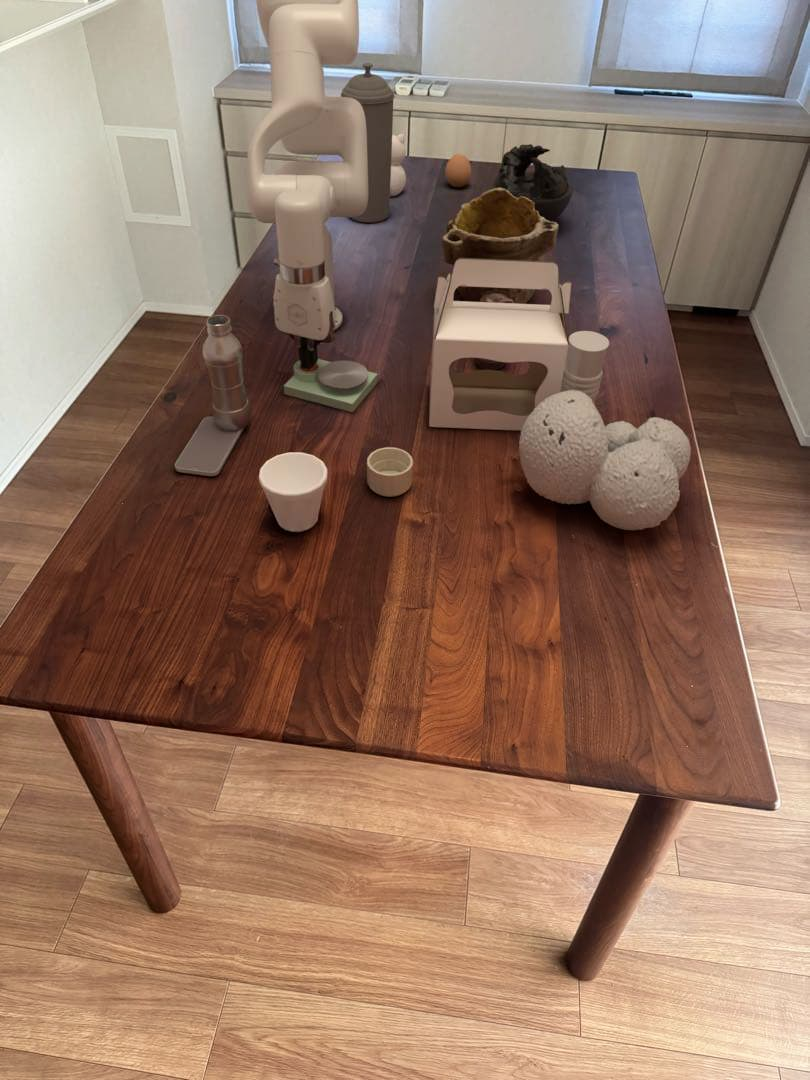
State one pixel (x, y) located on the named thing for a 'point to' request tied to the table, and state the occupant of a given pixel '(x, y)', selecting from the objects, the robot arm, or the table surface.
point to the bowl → (389, 471)
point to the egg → (458, 170)
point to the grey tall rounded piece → (226, 375)
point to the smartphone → (207, 449)
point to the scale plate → (343, 374)
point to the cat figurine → (397, 165)
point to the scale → (327, 389)
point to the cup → (294, 489)
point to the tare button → (311, 368)
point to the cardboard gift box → (496, 345)
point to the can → (493, 298)
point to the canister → (375, 139)
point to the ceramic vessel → (498, 236)
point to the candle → (585, 363)
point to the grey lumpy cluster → (603, 461)
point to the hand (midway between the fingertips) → (308, 365)
